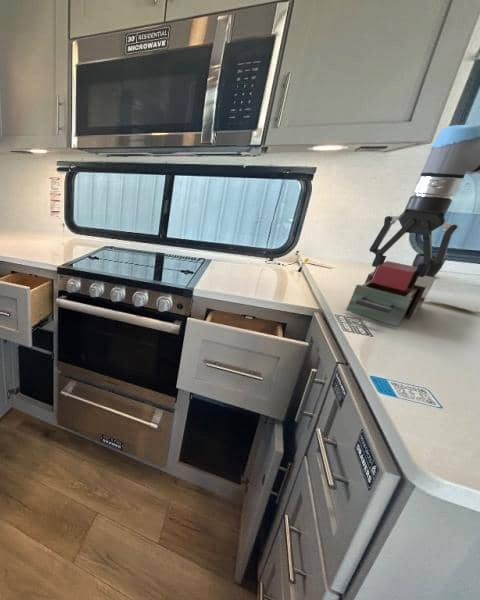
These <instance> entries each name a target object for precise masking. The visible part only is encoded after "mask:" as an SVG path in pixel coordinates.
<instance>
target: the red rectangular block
mask: <svg viewBox="0 0 480 600" xmlns="http://www.w3.org/2000/svg"><path fill="white" fill-rule="evenodd" d="M416 270H417V267H414V266H412V265H409V264H405V263H404V264H403V263H400V262H399V263H398V262H396V261H395V262H394V261H389V260H385V261H384V263H382V264H380V265H379V266H378V267H377V270H376V272H375V274H374V276H373V279H372V282H371V283H375V284H379V285H383V286H387V287H391V288H395V289H399V290H403V291H405V290H406V289H407V288H408V286H409V284H410V282H411V280H412V278H413V276H414V274H415V272H416Z"/></svg>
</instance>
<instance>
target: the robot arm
mask: <svg viewBox="0 0 480 600" xmlns="http://www.w3.org/2000/svg"><path fill="white" fill-rule="evenodd" d="M466 174H468V175H474V174H480V125H479V124H455V125H449V126H446V127H444V128H442V129H441V130H440V131H439V133H438V135H437V136H436V139H435V140H434V143H433V144H432V146H431V147H430V151H429V154H428V156H427V158H426V161H425V163H424V166H423V168H422V171H421V172H420V175H419V177H418V179H417V181H416V183H415V186H414V187H413V190H412V193H413V195H411V196H409V199H408V201H407V203H406V206H405V208H404V211H403V212H402V213H401V214H399V215H395V216H394V215H388V216H385V217H384V219H383V220H384V221H383V225H382V227H381V229H380V231H379V232H378V234H377V236H376V237H375V239H374V241H373V243H372V244H371V246H370V247H369V252H370V253H373V254H375V257H374V258H373V262H372V263H371V267H373V268H375V269H374V271H373V272H374V273H373V275H372V278H371V279H373V276H374V274H375V272H376V270H377V267H378V266H379V265H380V264H382V263H384V262H386V259H387V255H385V254H386V252H388V251H389V249H391V248H392V247H393V246H394V245H395V244H396V243H397V242H398V241H399V240H400V239H401V238H402V237H403V236H404V235H405V234H416V235H419V236H420V235H421V236H422V249H423V250H422V254H424V263H420V264H419V265H418V267H417V270H416V272H415V274H414V276H413V278H412V280H411V282H410V284H409V286H408V288H410V289H412V288H413V287H414V285H415V283H416V281H417V279H418V277H424V276H425V275H426V273H427V271H428V269H429V267H430V266H431V265H440V264H442V263H443V261H444V258H445V259H446V255H447V252H448V248H449V245H450V243H451V239H452V236H453V234H454V233H455V232H456V230H457V229H458V228H459V225H458V224H457V223H451V222H447V221H446V219H445V218H446V217H445V216H446V214H447V212H448V210H449V208H450V206H451V205H452V203H453V200H452V198H451V197H455V196H456V194H457V192H458V190H459V188H460V186H461V184H462V182H463V179H464V177H465V175H466ZM397 221H399V224H400V226H401V228H400V229H399V230H398V231H397V232H396V233H395V234H394V235H393V236H392V237H391V238H390V239H389V240H388V241H387V242H386V243H385V244H383V246H382V247H381V248H379V247H380V246H381V244H382V242H383V240H384V239H385V238H386V235H387V234H388V233H389V231H390V229H391V227H392V225H395V224H396V223H397ZM440 227H442V232H443V235H442V238H441V242H440V244H439V248H438V251H437V254H436V256H437V257H436V259H434V260H432V255H433V244H432V240H433V239H432V236H433V235H432V232H433V231H435V230H437V229H438V228H440Z"/></svg>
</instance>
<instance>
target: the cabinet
mask: <svg viewBox="0 0 480 600" xmlns="http://www.w3.org/2000/svg"><path fill="white" fill-rule="evenodd" d="M373 273H374V271H372V272H370V273H368V275H367V277H366V279H365V282H364V284H365V283H366V282H368V281H370V280H372V279H371V278H372V275H373ZM436 279H437V278H436V277H435V276H434V277H429V276H424V277H418V279H417V281H416V283H415V285H414V287H413V288H417V289H419V290H418V292H417V294H416V296H415V298H414V300H413V302H412V304H411V306H410V308H409V309H408V312H407V313H406V314H405V315H404V316H403V318H405V319H408V320H410V319H411V318H413V316H414V315H415V314H416V313H417V312H418V311H419V310H420V308H421V307H422V305H423V304H424V302H425V300H426V298H427V296H428V294H429V292H430V291H431V288H432V286H433V285H434V282H435V280H436Z"/></svg>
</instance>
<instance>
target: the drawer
mask: <svg viewBox="0 0 480 600" xmlns="http://www.w3.org/2000/svg"><path fill="white" fill-rule="evenodd" d="M371 282H372V280H370V281H368V282H366V283H365V282H364V283H363V284H356V285H355V287H354V290H353V293H352V295H351V297H350V300H349V302H348V304H347V307H346V309H345V311H346V312H349V313H352V314H355V315H359V316H362V317H365V318H368V319H372V320H375V321H378V322H381V323H384V324H388V325H390V326H394V327H397V328H399V326H400V324H401V322H402V320H403V318H404V317H403V316H404V315H405V314H406V313H407V312H408V309H409V308H410V306H411V304H412V302H413V300H414V298H415V296H416V294H417V292H418V290H419V289H417V288H412V289H410V288H407V289H406V290H405V291H403V290H399V289H395V288H391V287H387V286H383V285H379V284H375V283H371Z"/></svg>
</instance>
